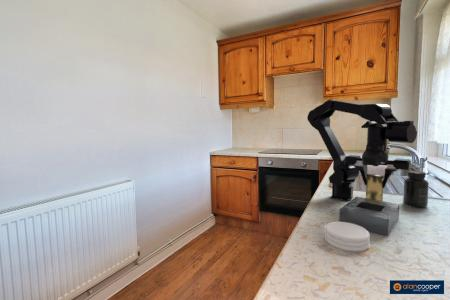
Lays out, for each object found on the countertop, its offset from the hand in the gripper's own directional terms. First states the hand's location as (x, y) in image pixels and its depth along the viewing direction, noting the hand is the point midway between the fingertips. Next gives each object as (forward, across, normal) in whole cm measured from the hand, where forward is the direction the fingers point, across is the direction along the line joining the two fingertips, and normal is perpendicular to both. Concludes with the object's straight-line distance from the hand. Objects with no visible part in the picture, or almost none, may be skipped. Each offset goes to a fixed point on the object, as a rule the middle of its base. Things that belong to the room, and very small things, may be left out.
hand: (374, 186), depth 82 cm
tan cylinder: (+6, 0, 0) cm, 6 cm away
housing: (+8, +2, -14) cm, 16 cm away
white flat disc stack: (+8, +1, -32) cm, 33 cm away
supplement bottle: (+8, +10, +12) cm, 17 cm away
